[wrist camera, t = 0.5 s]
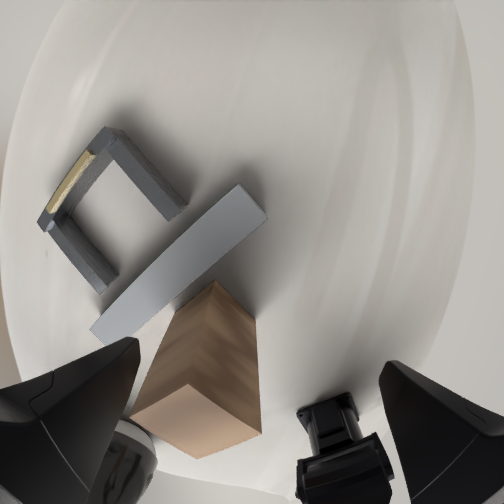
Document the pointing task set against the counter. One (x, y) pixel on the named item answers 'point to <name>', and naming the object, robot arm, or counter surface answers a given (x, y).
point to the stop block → (204, 377)
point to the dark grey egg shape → (124, 467)
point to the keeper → (79, 182)
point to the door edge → (181, 264)
